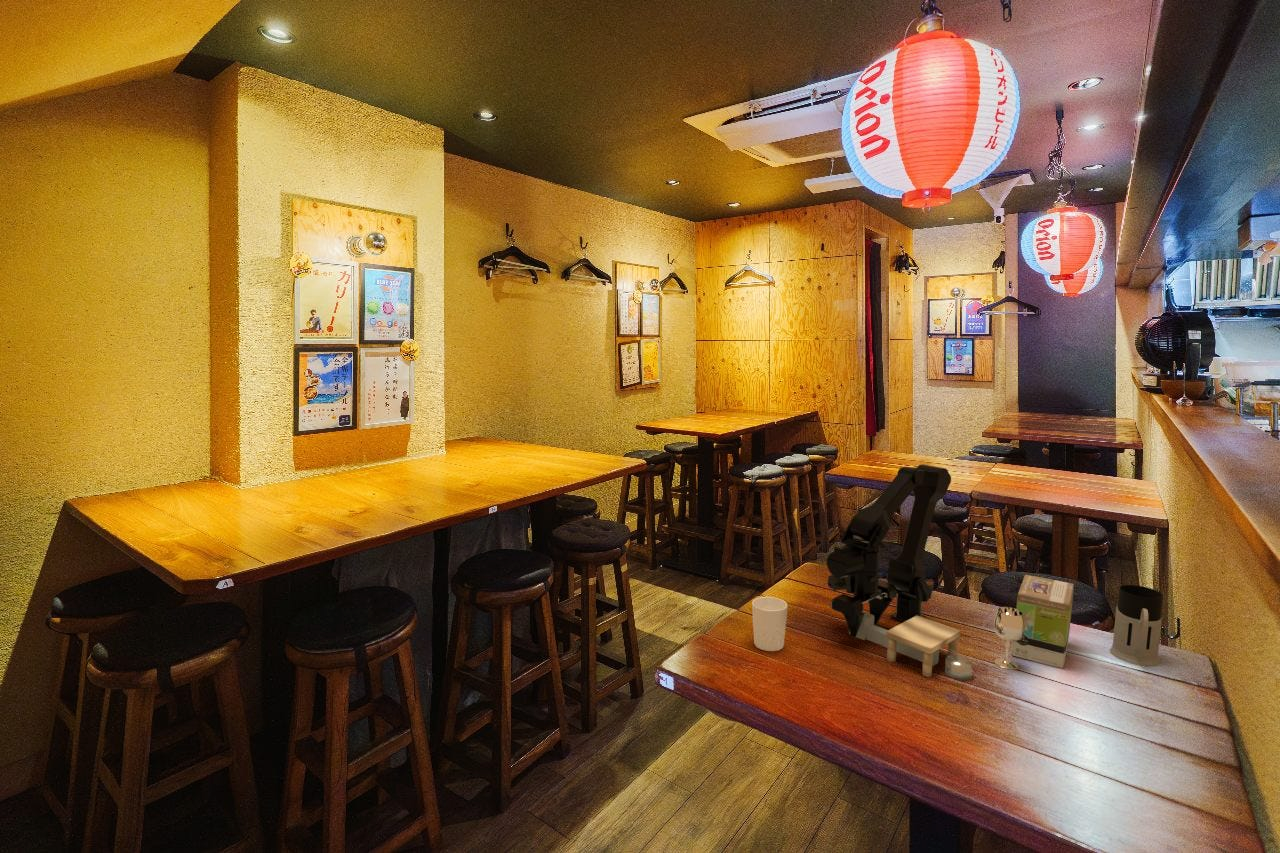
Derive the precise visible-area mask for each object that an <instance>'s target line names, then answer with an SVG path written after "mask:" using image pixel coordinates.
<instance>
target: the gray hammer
mask: <svg viewBox="0 0 1280 853" xmlns="http://www.w3.org/2000/svg"><path fill="white" fill-rule="evenodd" d="M862 612H863V613H865V614H864V617H863V619H862V622H861V625H860V628H859V630H858V633H857V635H856V637H855V638H858V639H860V640H863V641H865V640H867V641H870V642H872V643H875V644H876V645H880V646H882V647H884V648H887V649H888V637H886V631H888V629H885V628H883V627H881V626H877V625H876V626H875V625H874V615H872V614H870V612H866V611H864V610H863V611H862ZM848 634H849V636H851V634H850V631H849V630H848ZM939 651H940V649H938V650H937V651H935V652H933V660H932V667H934V666H935V665H937V664H938V663H939V656H940V654H939V653H940V652H939ZM896 653H899V654H901V655H903V656H906V657H909V658H910V659H913V660H916V661H919V662H921V663H923V651H921V650H918V649H916V648H913V647H911V646H908V645H906V644H903V643H901V642H898V641H897V648H896Z"/></svg>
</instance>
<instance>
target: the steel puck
mask: <svg viewBox="0 0 1280 853" xmlns="http://www.w3.org/2000/svg"><path fill="white" fill-rule="evenodd" d="M972 671H973V662H972V660H970V659H969V658H967V657H964V656H962V655H958V654H957V655H949V656H948V655H946V656H945V662H944V674H946V675H947V676H948V677H950V678H951V679H955V680H957V681H968V680H971V679H972V673H973V672H972Z"/></svg>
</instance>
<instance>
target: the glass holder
mask: <svg viewBox="0 0 1280 853" xmlns="http://www.w3.org/2000/svg"><path fill="white" fill-rule="evenodd" d="M1163 599H1164V594H1163V593H1162V592H1160V591H1158V590H1157V589H1153V588H1151V587H1147V586H1142V585H1136V584H1123V585H1120V586H1119V590H1118V599H1117V605H1116V607H1115V608H1116V609H1115V618H1114V619H1115V621H1114V628H1113V629H1114V630H1113V638H1112V639H1113V641H1112V646H1111V647H1110V649H1109V653H1110V654H1111V655H1112V656H1113V657H1114V658H1116V659H1118V660H1121V661H1123V662H1125V663H1128V664H1133V665H1136V666H1141V667H1156V666H1159V665H1160V663H1161V662H1160V659H1159V651H1160V650H1159V647H1160V639H1161V629H1162V621H1163V614H1162V612H1163V610H1162V609H1163Z"/></svg>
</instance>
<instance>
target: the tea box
mask: <svg viewBox="0 0 1280 853" xmlns="http://www.w3.org/2000/svg"><path fill="white" fill-rule="evenodd" d="M1074 585H1075V584H1074V583H1072V582H1066V581H1061V580H1055V579H1052V578H1050V579H1049V578H1046V577H1042V576H1041V577H1040V576H1035V575H1029V574H1025V575H1024V576H1023V579H1022V583H1021V585H1020V587H1019V589H1018V593H1017V598H1016V599H1017V600H1016V607H1015V609H1017V610H1020V611H1021V612H1022V613H1023V616H1024V622H1025V632H1024V635H1023V637H1022V638H1021V639H1019V640H1017V641H1012V647H1011V648H1012V649H1011V655H1012V656H1014V657H1017V658H1021V659H1023V660H1028V661H1031V662H1036V663H1039V664H1043V665H1045V666H1046V665H1047V666H1051V667H1055V668H1058V669H1063V668H1064V666H1065V663H1066V662H1065V661H1066V656H1067V650H1068V643H1069V636H1070V630H1071V629H1070V628H1071V620H1072V619H1071V618H1072V611H1073V602H1074V601H1073V600H1074V588H1075V586H1074Z"/></svg>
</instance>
